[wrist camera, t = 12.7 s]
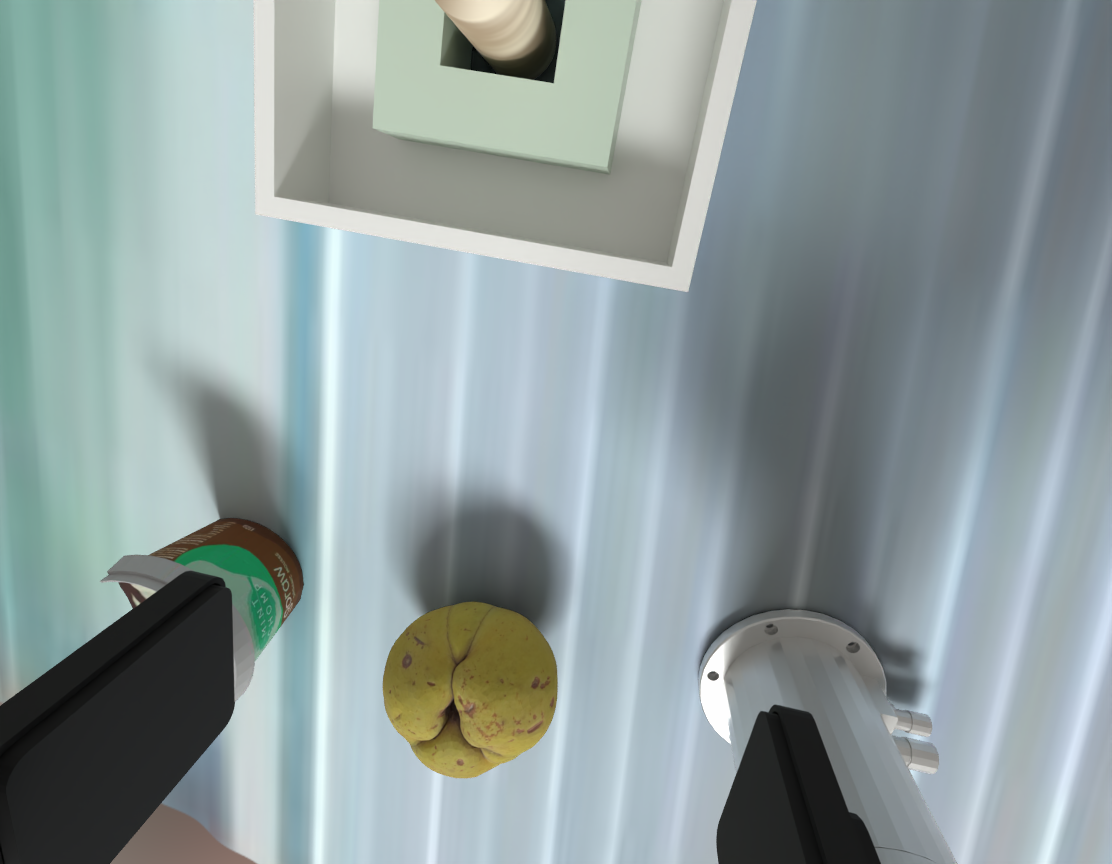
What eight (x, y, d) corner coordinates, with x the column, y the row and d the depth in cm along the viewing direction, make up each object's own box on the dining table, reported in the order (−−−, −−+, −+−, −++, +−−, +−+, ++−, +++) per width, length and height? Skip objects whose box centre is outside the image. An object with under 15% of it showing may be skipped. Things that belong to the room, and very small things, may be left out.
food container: (340, 628, 46) (264, 729, 36) (273, 638, 47) (182, 737, 38) (283, 487, 42) (182, 558, 33) (211, 501, 44) (95, 573, 34)
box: (787, -196, 27) (835, -336, 21) (678, 282, 34) (687, 292, 28) (339, -250, 29) (250, -396, 22) (325, 219, 36) (255, 214, 29)
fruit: (546, 713, 46) (523, 835, 36) (404, 671, 46) (345, 781, 37) (580, 597, 42) (564, 700, 33) (425, 554, 43) (366, 643, 33)
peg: (562, 2, 31) (528, -101, 21) (550, 87, 32) (513, 25, 23) (488, -8, 31) (423, -115, 22) (480, 77, 32) (415, 11, 23)
